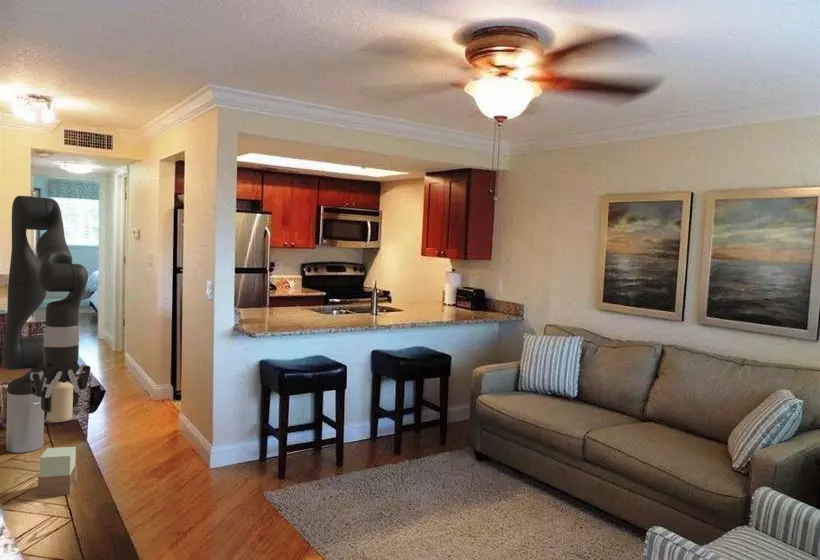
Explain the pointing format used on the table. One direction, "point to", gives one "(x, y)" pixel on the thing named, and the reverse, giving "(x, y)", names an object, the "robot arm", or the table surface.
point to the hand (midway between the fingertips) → (59, 408)
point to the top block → (57, 461)
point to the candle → (61, 402)
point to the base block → (57, 484)
